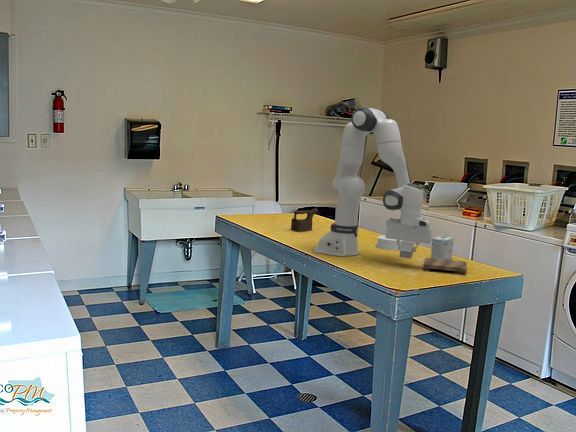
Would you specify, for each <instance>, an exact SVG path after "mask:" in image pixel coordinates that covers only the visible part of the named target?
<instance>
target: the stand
mask: <svg viewBox="0 0 576 432" xmlns="http://www.w3.org/2000/svg"><path fill="white" fill-rule="evenodd" d="M423 269H424V272H429V271H430V270H431V269H432V270H433V269H434V270H443V271H452V272H459V275H462V276H465V275H466V273H467V272H468V271H467V270H468V267H467V261H465V260H464V261H463V260H452V259H450V260H444V259H434V258H431V257H424V261H423Z"/></svg>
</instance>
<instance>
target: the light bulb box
mask: <svg viewBox="0 0 576 432" xmlns="http://www.w3.org/2000/svg"><path fill="white" fill-rule="evenodd" d="M454 239H455V238H454V237H452V236H445V235H439V236H435V237H432V240H431V253H430V258H434V259H444V260H452V259H453V248H454Z"/></svg>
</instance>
